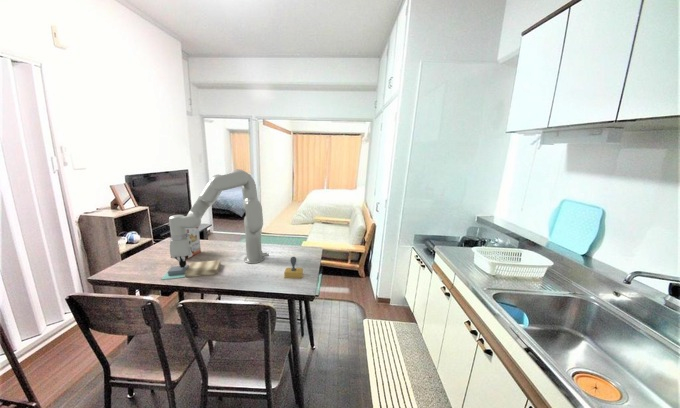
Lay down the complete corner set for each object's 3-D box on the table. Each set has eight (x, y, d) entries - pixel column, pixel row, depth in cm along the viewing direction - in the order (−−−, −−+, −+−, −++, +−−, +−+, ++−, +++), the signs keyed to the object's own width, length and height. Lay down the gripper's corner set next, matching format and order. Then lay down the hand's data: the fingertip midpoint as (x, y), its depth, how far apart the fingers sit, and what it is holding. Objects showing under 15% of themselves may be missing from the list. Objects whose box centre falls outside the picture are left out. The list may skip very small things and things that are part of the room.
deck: (220, 264, 149) (220, 260, 148) (216, 273, 138) (216, 269, 137) (191, 267, 144) (191, 262, 143) (185, 277, 133) (184, 272, 132)
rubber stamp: (284, 278, 135) (283, 258, 133) (286, 273, 141) (285, 254, 138) (301, 278, 136) (301, 259, 133) (302, 273, 141) (302, 254, 139)
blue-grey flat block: (189, 268, 142) (189, 264, 141) (186, 273, 136) (186, 269, 135) (172, 270, 139) (171, 266, 138) (168, 275, 133) (167, 271, 133)
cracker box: (184, 260, 152) (180, 229, 148) (176, 259, 154) (172, 228, 149) (201, 252, 166) (198, 223, 161) (194, 250, 167) (191, 222, 162)
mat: (190, 267, 144) (190, 266, 144) (184, 277, 133) (184, 276, 133) (169, 269, 141) (169, 268, 141) (161, 279, 130) (161, 279, 130)
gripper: (196, 233, 139) (199, 262, 143) (166, 235, 134) (170, 265, 138) (192, 238, 132) (195, 268, 136) (161, 240, 127) (165, 271, 131)
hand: (183, 266), depth 137 cm, fingers closed
